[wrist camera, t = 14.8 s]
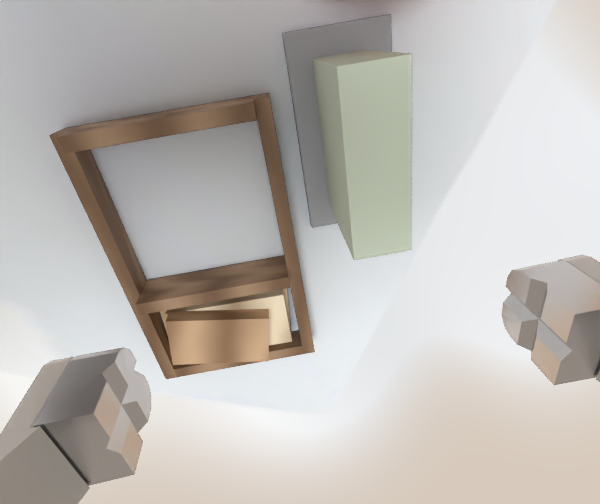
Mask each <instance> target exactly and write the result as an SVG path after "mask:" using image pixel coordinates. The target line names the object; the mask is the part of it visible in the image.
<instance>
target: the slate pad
mask: <svg viewBox="0 0 600 504" xmlns="http://www.w3.org/2000/svg"><path fill="white" fill-rule="evenodd" d="M283 40H284V46H285V53H286V60H287V66H288V73H289V80H290V87H291V93H292V100H293V107H294V113H295V120H296V127H297V134H298V140H299V147H300V154H301V161H302V167H303V174H304V181H305V187H306V194H307V201H308V208H309V214H310V221H311V226H312V228H313V227H319V226H324V225H330V224H335V223H337V220H336V218H335V216H334V214H333V211H332V209H331V207H330V204H329V196H328V187H327V179H326V170H325V162H324V153H323V145H322V136H321V128H320V119H319V111H318V102H317V94H316V85H315V77H314V68H313V60H312V59H314V58H320V57H326V56H332V55H337V54H343V53H349V52H355V51H360V50H373V51H385V52H392V32H391V14H389V15H383V16H377V17H371V18H365V19H360V20H354V21H348V22H342V23H336V24H331V25H325V26H319V27H313V28H307V29H302V30H296V31H290V32H284V33H283Z"/></svg>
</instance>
